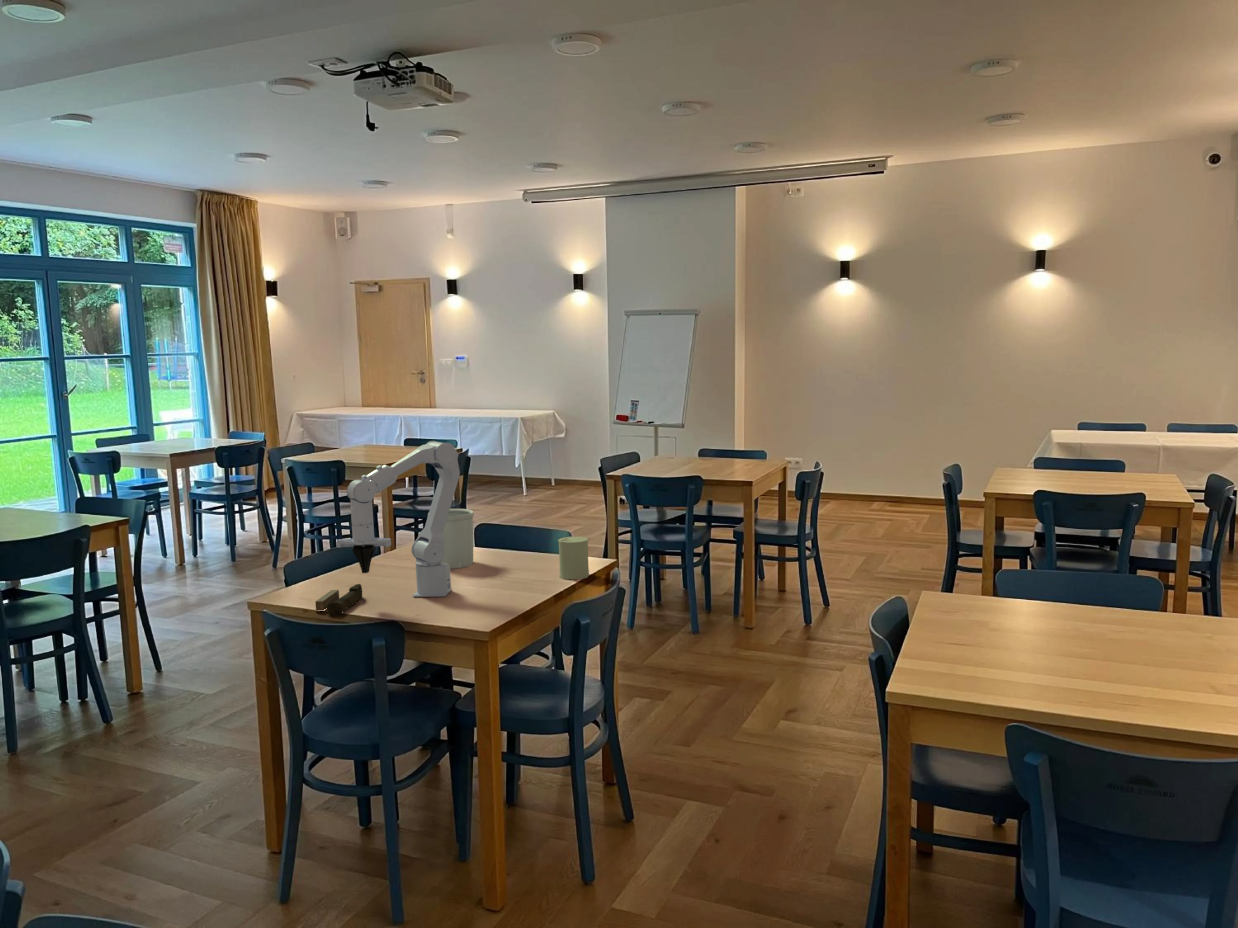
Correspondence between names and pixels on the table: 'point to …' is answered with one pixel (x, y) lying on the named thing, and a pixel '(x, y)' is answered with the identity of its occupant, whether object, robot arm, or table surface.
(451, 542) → the utensil holder
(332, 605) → the hand tool
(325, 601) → the block
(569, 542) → the can
